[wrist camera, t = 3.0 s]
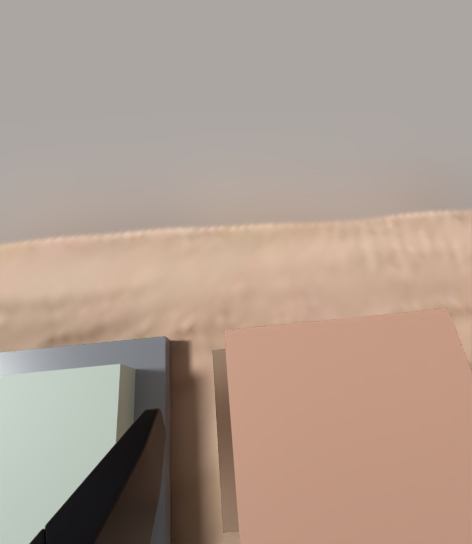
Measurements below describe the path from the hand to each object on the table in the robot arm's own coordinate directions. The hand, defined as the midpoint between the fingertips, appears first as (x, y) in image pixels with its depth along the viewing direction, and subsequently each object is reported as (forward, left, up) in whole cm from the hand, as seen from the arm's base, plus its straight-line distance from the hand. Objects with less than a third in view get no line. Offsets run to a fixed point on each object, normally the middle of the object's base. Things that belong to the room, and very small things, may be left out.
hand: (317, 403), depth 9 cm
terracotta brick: (-1, 0, -4) cm, 4 cm away
